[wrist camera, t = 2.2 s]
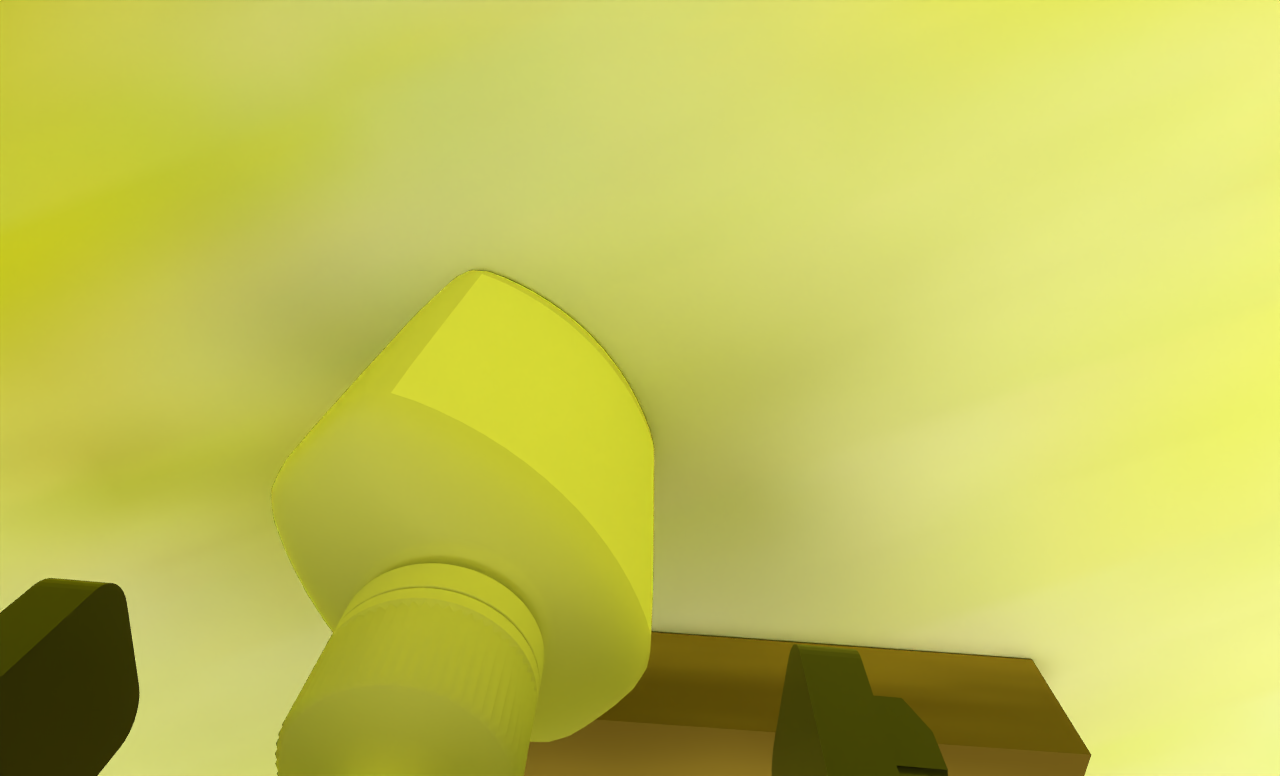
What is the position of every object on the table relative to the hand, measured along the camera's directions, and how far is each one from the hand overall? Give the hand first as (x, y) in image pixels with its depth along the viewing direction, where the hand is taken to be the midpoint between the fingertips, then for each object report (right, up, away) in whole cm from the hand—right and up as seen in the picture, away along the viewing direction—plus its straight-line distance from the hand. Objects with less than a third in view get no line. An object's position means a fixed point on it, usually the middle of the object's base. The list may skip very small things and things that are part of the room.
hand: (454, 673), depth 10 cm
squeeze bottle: (0, +4, +8) cm, 9 cm away
